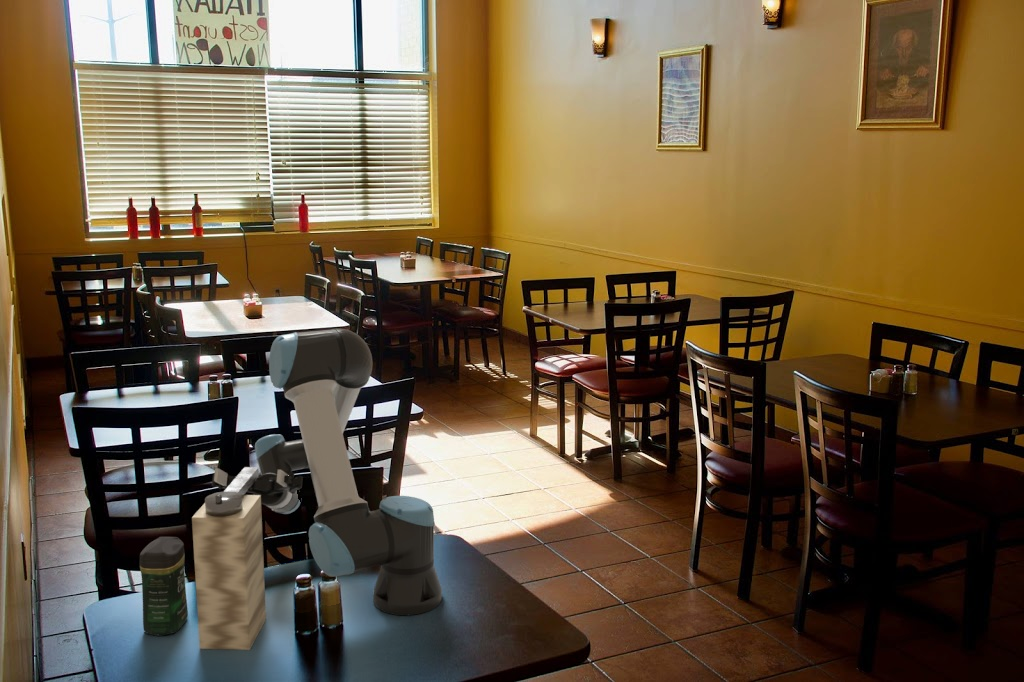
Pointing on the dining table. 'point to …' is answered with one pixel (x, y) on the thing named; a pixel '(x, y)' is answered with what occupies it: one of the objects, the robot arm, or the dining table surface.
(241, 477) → the pin spanner
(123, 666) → the dining table surface
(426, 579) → the robot arm
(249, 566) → the birch pedestal
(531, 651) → the dining table surface
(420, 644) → the dining table surface
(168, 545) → the coffee jar
